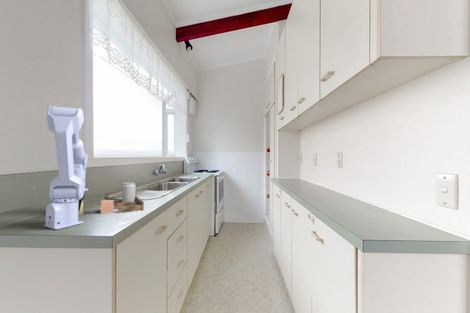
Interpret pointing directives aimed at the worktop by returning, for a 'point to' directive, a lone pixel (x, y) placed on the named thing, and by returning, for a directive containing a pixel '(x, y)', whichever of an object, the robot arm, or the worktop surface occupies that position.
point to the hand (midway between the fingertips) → (76, 210)
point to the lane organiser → (129, 205)
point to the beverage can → (128, 192)
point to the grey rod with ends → (105, 208)
